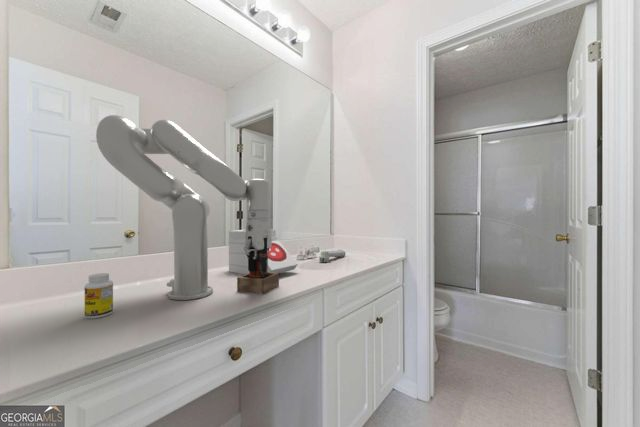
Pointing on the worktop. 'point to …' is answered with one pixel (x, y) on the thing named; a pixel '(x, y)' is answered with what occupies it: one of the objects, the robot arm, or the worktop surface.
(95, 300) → the supplement bottle
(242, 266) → the white stacked boxes
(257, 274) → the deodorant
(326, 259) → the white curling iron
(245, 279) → the holder
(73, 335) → the worktop surface
